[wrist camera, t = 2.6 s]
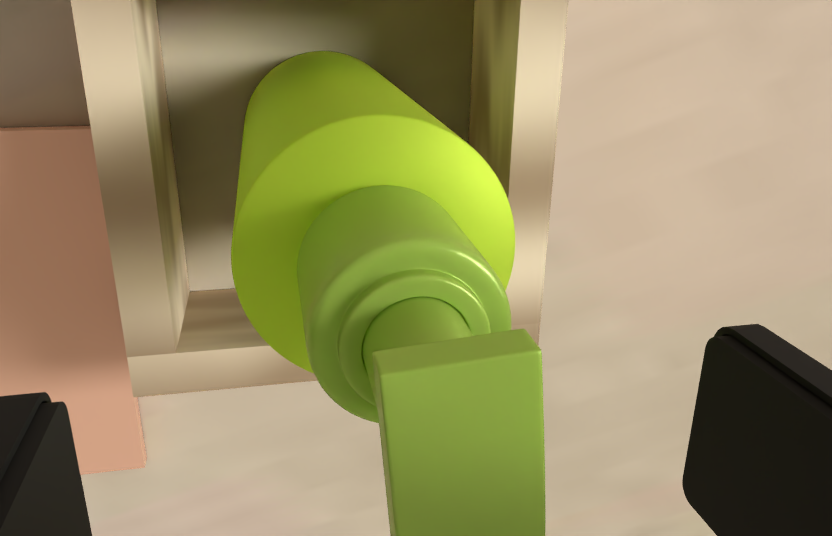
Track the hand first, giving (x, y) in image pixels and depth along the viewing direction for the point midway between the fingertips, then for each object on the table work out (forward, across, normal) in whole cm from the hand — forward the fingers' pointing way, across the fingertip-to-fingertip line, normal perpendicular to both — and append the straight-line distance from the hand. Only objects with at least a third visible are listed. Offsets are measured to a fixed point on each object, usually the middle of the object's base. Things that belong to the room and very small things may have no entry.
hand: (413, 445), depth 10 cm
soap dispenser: (+18, -1, -1) cm, 18 cm away
